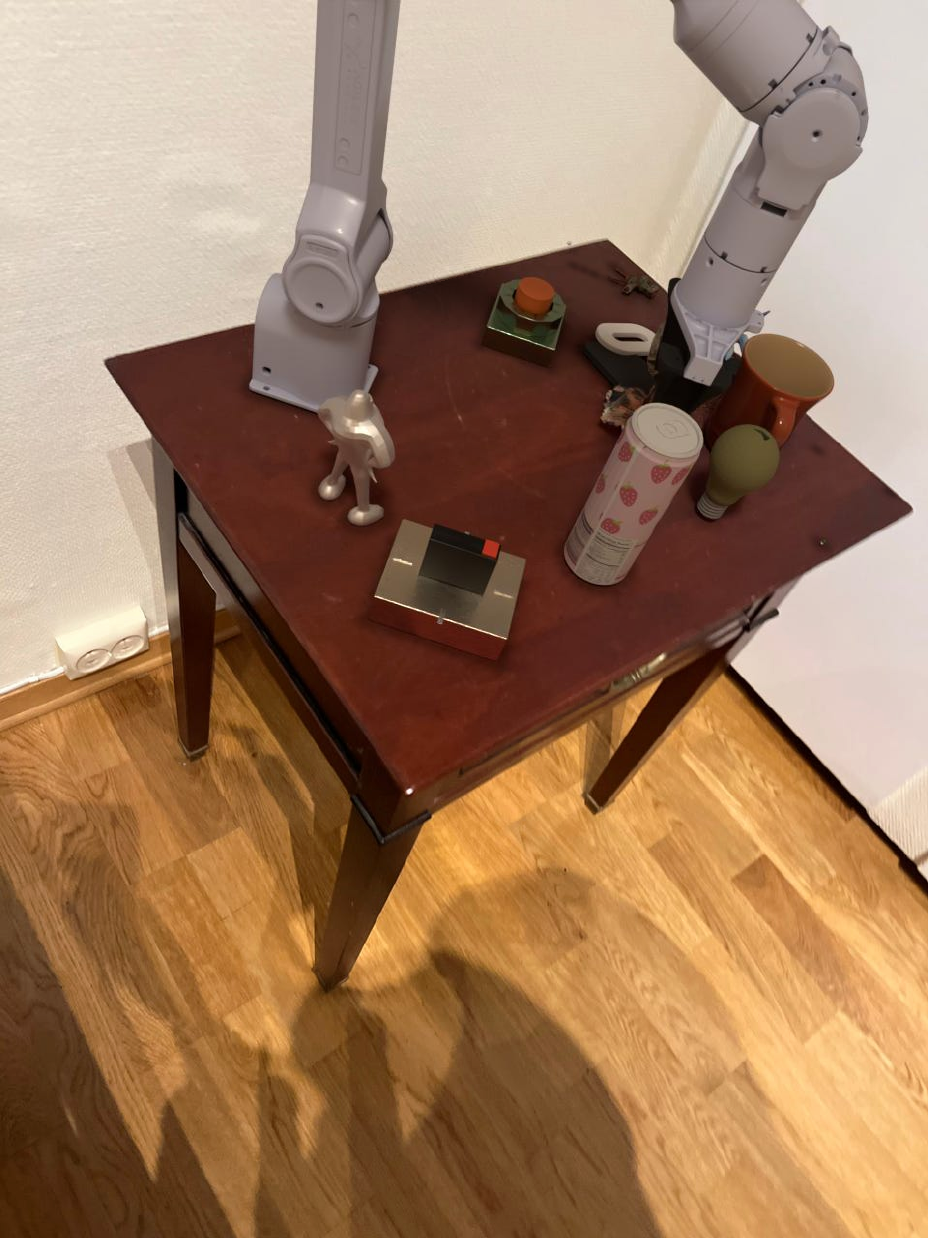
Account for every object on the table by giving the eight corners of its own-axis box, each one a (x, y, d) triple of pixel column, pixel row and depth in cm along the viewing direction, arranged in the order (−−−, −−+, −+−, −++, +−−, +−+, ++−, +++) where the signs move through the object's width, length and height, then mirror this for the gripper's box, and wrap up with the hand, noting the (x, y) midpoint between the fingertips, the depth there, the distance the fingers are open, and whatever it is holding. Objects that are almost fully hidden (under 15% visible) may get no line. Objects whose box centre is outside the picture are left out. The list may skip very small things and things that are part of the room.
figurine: (393, 520, 70) (421, 407, 61) (356, 545, 68) (379, 431, 58) (331, 468, 72) (349, 350, 63) (293, 490, 70) (306, 372, 60)
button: (511, 307, 85) (516, 291, 83) (517, 287, 87) (522, 272, 86) (546, 319, 85) (551, 304, 84) (551, 299, 87) (557, 284, 86)
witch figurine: (668, 277, 98) (662, 292, 99) (579, 234, 101) (574, 249, 103) (648, 291, 95) (642, 306, 96) (556, 245, 98) (551, 261, 99)
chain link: (613, 351, 88) (589, 322, 90) (610, 356, 88) (586, 327, 91) (671, 351, 92) (646, 323, 94) (668, 355, 92) (644, 328, 95)
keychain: (617, 334, 91) (678, 397, 87) (615, 340, 92) (675, 402, 88) (582, 343, 89) (642, 408, 85) (579, 349, 89) (640, 413, 85)
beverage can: (638, 562, 74) (720, 432, 62) (605, 599, 71) (684, 469, 59) (584, 523, 75) (654, 388, 63) (549, 558, 72) (616, 423, 60)
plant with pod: (702, 419, 87) (814, 231, 72) (644, 461, 80) (753, 264, 65) (639, 373, 89) (734, 181, 74) (577, 411, 82) (667, 208, 67)
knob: (418, 573, 64) (430, 536, 60) (424, 558, 65) (435, 520, 61) (483, 595, 64) (498, 559, 61) (487, 579, 65) (502, 542, 62)
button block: (481, 344, 86) (491, 310, 83) (496, 300, 91) (506, 266, 88) (547, 367, 87) (560, 334, 83) (559, 322, 91) (572, 289, 88)
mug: (695, 406, 88) (743, 321, 80) (775, 432, 89) (831, 351, 81) (690, 486, 81) (743, 402, 73) (778, 514, 82) (840, 434, 74)
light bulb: (741, 509, 81) (798, 429, 73) (727, 547, 78) (785, 468, 70) (686, 482, 81) (737, 400, 73) (670, 519, 78) (722, 437, 70)
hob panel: (365, 626, 64) (371, 601, 61) (398, 537, 69) (405, 511, 67) (495, 668, 64) (506, 645, 62) (517, 576, 70) (528, 552, 67)
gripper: (798, 325, 56) (703, 473, 67) (794, 216, 65) (711, 362, 76) (695, 289, 56) (617, 443, 66) (706, 184, 65) (635, 335, 75)
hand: (662, 398), depth 71 cm, fingers open, 7 cm apart
